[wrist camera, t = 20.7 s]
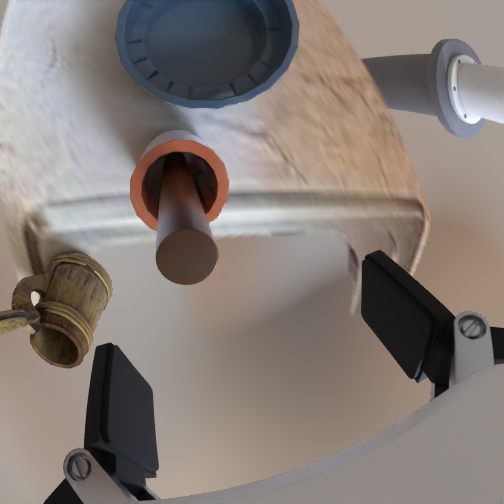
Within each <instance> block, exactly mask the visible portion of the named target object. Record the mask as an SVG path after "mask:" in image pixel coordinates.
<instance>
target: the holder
mask: <svg viewBox="0 0 504 504" xmlns="http://www.w3.org/2000/svg"><path fill="white" fill-rule="evenodd" d="M171 152H180V153H182V154H183V155H184V156H185V158H186V160H187V163H188V166H189V169H190V172H191V175H192V178H193V181H194V184H195V187H196V189H197V192H198V195H199V198H200V201H201V204H202V207H203V209H204V212H205V215H206V218H207V221H208V223H209V224H210V223H212V222H213V221H214V220H215V219H216V218H217V217H218V216H219V214H220V213H221V211H222V209H223V207H224V205H225V204H226V202H227V197H228V190H229V179H228V175H227V172H226V168H225V165H224V163H223V162H222V161H221V159H220V158H219V157H218V156H217V155H216V153H215V152H214V151H213V150H212V149H211V148H210V147H209V146H208V145H207V144H206V143H205V142H203V141H202V140H201V139H200V138H199V137H198V136H196V135H194V134H192V133H190V132H188V131H186V130H170V131H167V132H164V133H162V134H160V135H158V136H157V137H156V138H155V139H154V140H153V141H151V142H150V144H149V145H148V146H147V148H146V150H145V151H144V153H143V155H142V156H141V158H140V159H139V161H138V163H137V165H136V167H135V170H134V172H133V174H132V176H131V179H130V199H131V202H132V204H133V207H134V209H135V211H136V214H137V216H138V217H139V218H140V219H141V220H142V221H143V222H144V223H145V224H146V225H147V226H148V227H150V228H151V229H154V230H156V231H157V225H158V211H159V199H160V188H161V178H162V169H163V161H164V158H165V157H166V156H167V155H168V154H169V153H171Z"/></svg>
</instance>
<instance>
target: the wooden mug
mask: <svg viewBox="0 0 504 504" xmlns="http://www.w3.org/2000/svg"><path fill="white" fill-rule="evenodd" d="M33 291H35V292H37V293H38V294H39V295H40V299H39V302H38V303H37V304H36V305H35V307H34V306H33V304H32V301H31V293H32V292H33ZM111 295H112V282H111V279H110V277H109V275H108V273H107V272H106V271H105V269H104V268H103V267H102V266H101V265H100V264H99V263H98V262H97V261H95V260H94V259H92V258H91V257H89V256H88V255H84V254H81V253H78V252H74V253H65V254H62V255H59V256H56V257H54V258H53V259H52V260H51V261H50V263H49V265H48V267H47V269H46V271H45V274H43V275H35V276H30V277H26V278H23V279H22V280H21V281H20V282H19V283H18V284H17V286H16V288H15V290H14V292H13V297H12V310H7V311H1V312H0V334H4V333H6V332H9V331H12V330H14V329H17V328H19V327H24V328H25V329H26V330H27V331H28V332H29V333H31V335H30V343H31V345H32V347H33V349H34V350H35V352H36V353H37V354H38V355H39V356H40V357H41V358H42V359H44V360H45V361H46V362H48V363H50V364H51V365H54V366H57V367H62V368H73V367H76V366H77V365H80V363H81V362H82V361H83V358H84V356H85V355H86V354H87V352H88V351H89V349H90V347H91V345H92V342H93V333H94V330H95V328H96V326H97V323H98V321H99V319H100V316H101V314H102V312H103V311H104V310H105V308H106V306H107V304H108V302H109V300H110V298H111Z"/></svg>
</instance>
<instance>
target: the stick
mask: <svg viewBox="0 0 504 504" xmlns="http://www.w3.org/2000/svg"><path fill="white" fill-rule="evenodd" d="M218 257H219V254H218V248H217V245H216V243H215V240H214V237H213V234H212V232H211V229H210V226H209V223H208V221H207V218H206V215H205V212H204V209H203V207H202V204H201V201H200V198H199V195H198V192H197V189H196V187H195V184H194V181H193V178H192V175H191V172H190V169H189V166H188V163H187V160H186V158H185V156H184V155H183V154H182V153H180V152H171V153H169V154H168V155H167V156H166V157H165V158H164V161H163V169H162V178H161V188H160V199H159V211H158V225H157V242H156V263H157V266H158V269H159V270H160V272H161V274H162V275H163V276H164V277H165V278H167V279H168V280H170V281H171V282H174V283H177V284H182V285H191V284H195V283H199V282H201V281H203V280H204V279H206V278H207V277H209V275H211V273H212V272H213V271H214V269H215V268H216V265H217V263H218Z"/></svg>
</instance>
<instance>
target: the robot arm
mask: <svg viewBox="0 0 504 504" xmlns="http://www.w3.org/2000/svg"><path fill="white" fill-rule="evenodd" d="M447 85H448V93H449V97H450V101H451V104H452V106H453V109H454V111H455V112H456V114H457V116H458V117H459V118H460V119H461V120H462V121H464V122H466V123H470V124H474V123H476V122H478V121H479V120H480V119H481V118H485V119H488V120H493V121H496V122H499V123H503V124H504V67H497V66H489V65H480V64H477V63H476V62H475V61H474V60H473V59H472V58H471V57H469V56H467V55H457V56H455V57H454V58H453V59H452V60H451V62H450V65H449V68H448V75H447ZM361 314H362V317H363V319H364V321H365V322H366V323H367V324H368V326H369V327H370V328H371V329H372V331H373V332H374V333H375V334H376V335H377V337H378V338H379V339H380V341H381V342H382V343H383V345H384V346H385V347H386V348H387V350H388V351H389V352H390V353H391V355H392V356H393V357H394V359H395V360H396V361H397V363H398V364H399V365H400V367H401V368H402V369H403V370H404V372H405V373H406V374H407V376H408V377H409V378H410V379H413V378H414V379H415V380H416V382H417V383H419V382H421V381H422V380H424V379H425V378H427V377H428V378H429V380H430V381H431V382H432V386H431V397H430V402H429V403H427V404H426V405H424V406H423V407H421V408H420V409H418V410H416V411H415V412H413V413H411V414H410V415H408V416H407V417H405V418H403V419H402V420H400V421H398V422H397V423H395V424H393V425H392V426H390V427H388V428H386V429H384V430H382V431H381V432H379V433H377V434H375V435H373V436H371V437H369V438H367V439H365V440H363V441H361V442H359V443H357V444H355V445H353V446H351V447H349V448H347V449H344V450H342V451H340V452H338V453H335V454H333V455H331V456H328V457H326V458H324V459H321V460H319V461H316V462H314V463H311V464H308V465H306V466H303V467H300V468H298V469H295V470H292V471H289V472H286V473H283V474H280V475H277V476H274V477H270V478H267V479H263V480H260V481H256V482H253V483H249V484H245V485H241V486H237V487H232V488H228V489H224V490H219V491H214V492H209V493H203V494H197V495H190V496H183V497H176V498H168V499H160V498H159V497H158V496H157V495H156V494H154V493H153V492H152V491H151V490H150V489H149V488H148V487H147V486H146V482H145V478H154V477H157V476H156V471H157V470H158V468H159V463H158V454H157V445H156V434H155V421H154V405H153V392H152V389H151V387H150V385H149V384H148V383H147V382H146V380H145V379H144V378H143V377H142V376H141V374H140V373H139V372H138V371H137V370H136V368H135V367H134V366H133V365H132V363H131V362H130V361H129V360H128V358H127V357H126V356H125V355H124V353H123V352H122V351H121V349H120V348H119V347H118V346H117V345H113V344H112V343H107V344H103V345H99V346H97V347H96V349H95V354H94V360H93V366H92V373H91V379H90V387H89V394H88V403H87V412H86V423H85V437H84V449H83V448H77V449H74V450H72V451H71V452H69V453H68V455H67V456H66V458H65V460H64V465H63V470H64V474H65V477H66V478H65V479H64V480H63V481H62V482H61V484H60V485H59V486H58V487H57V488H56V489H55V490H54V491H53V492H52V494H51V495H50V496H49V497H48V498H47V499H46V500H45V502H44V504H504V328H498V327H489V324H488V321H487V320H486V319H485V317H483V316H482V315H481V314H479V313H477V312H473V311H465V312H462V313H460V314H459V315H458V316H457V317H455V316H454V315H453V314H452V313H451V312H450V311H449V310H448V309H447V308H446V307H445V306H444V305H443V304H442V303H441V302H440V301H438V300H437V299H436V298H435V297H434V296H433V295H432V294H431V293H430V292H429V291H428V290H426V289H425V288H424V287H423V286H422V285H421V284H420V283H419V282H418V281H416V280H415V279H414V278H413V277H412V276H411V275H410V274H408V273H407V272H406V271H405V270H404V269H403V268H401V267H400V266H399V265H398V264H397V263H396V262H394V261H393V260H392V259H391V258H390V257H388V256H387V255H386V254H385V253H384V252H382V251H381V250H377V251H375V252H372V253H370V254H367V255H366V256H365V260H363V261H362V300H361Z"/></svg>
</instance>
